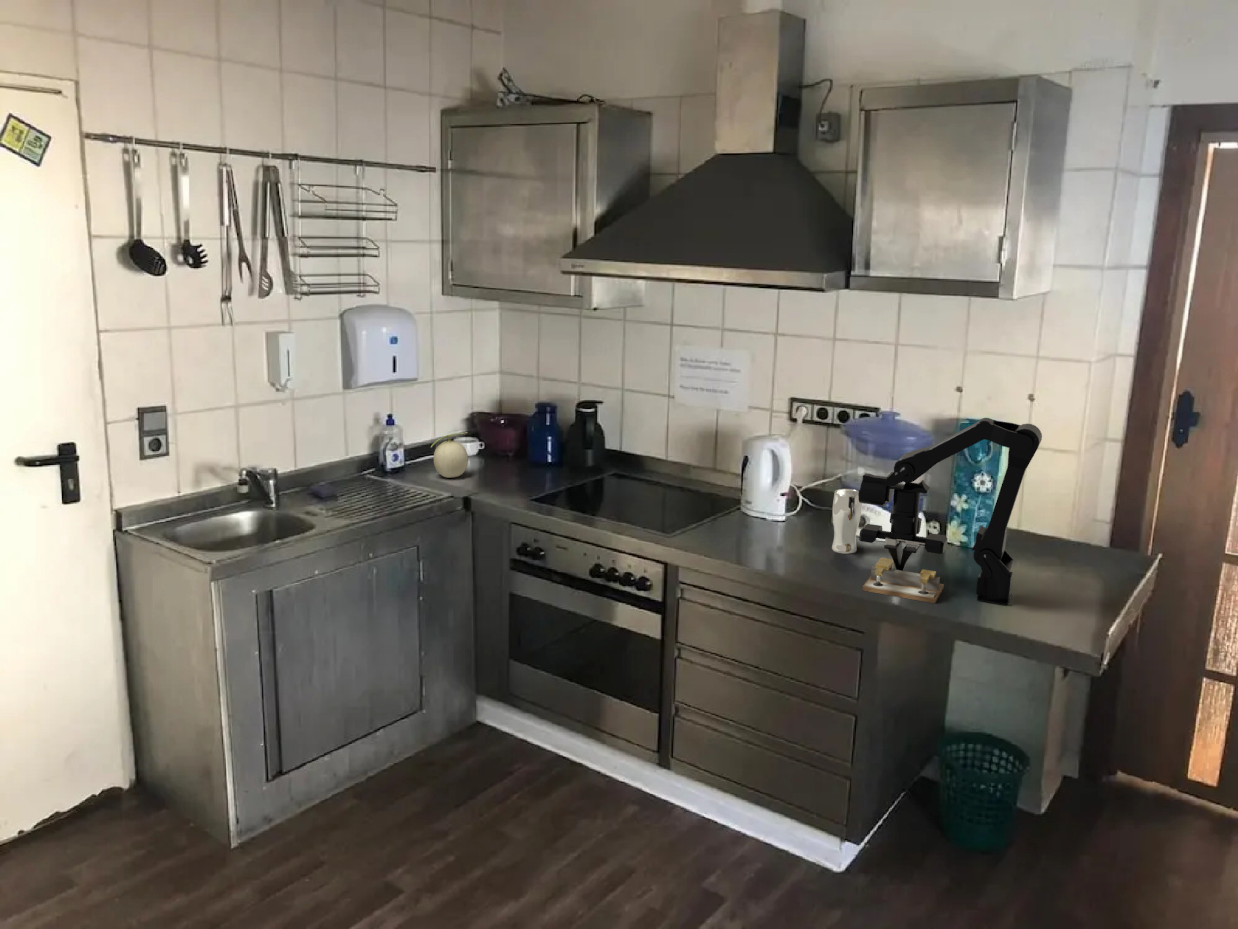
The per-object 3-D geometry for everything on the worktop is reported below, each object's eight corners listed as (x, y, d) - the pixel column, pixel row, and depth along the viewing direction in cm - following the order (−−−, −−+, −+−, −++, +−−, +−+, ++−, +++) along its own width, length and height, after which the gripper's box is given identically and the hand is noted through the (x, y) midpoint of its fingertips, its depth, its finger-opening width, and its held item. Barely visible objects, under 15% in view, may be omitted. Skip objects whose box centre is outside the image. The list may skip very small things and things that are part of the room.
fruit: (427, 474, 323) (426, 428, 319) (463, 471, 327) (462, 425, 324) (435, 483, 314) (434, 435, 310) (472, 479, 318) (471, 432, 314)
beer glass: (833, 543, 262) (836, 487, 258) (860, 547, 259) (864, 490, 256) (827, 552, 256) (831, 494, 252) (855, 556, 253) (859, 497, 249)
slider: (893, 574, 237) (894, 559, 236) (884, 586, 230) (885, 571, 229) (880, 572, 239) (881, 557, 238) (870, 584, 231) (872, 569, 230)
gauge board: (943, 588, 233) (945, 568, 232) (935, 603, 224) (937, 582, 223) (873, 576, 240) (874, 556, 239) (862, 590, 231) (863, 570, 230)
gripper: (954, 505, 234) (948, 570, 238) (873, 494, 243) (868, 556, 247) (945, 518, 225) (939, 585, 229) (861, 506, 233) (856, 571, 237)
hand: (900, 573), depth 235 cm, fingers closed
